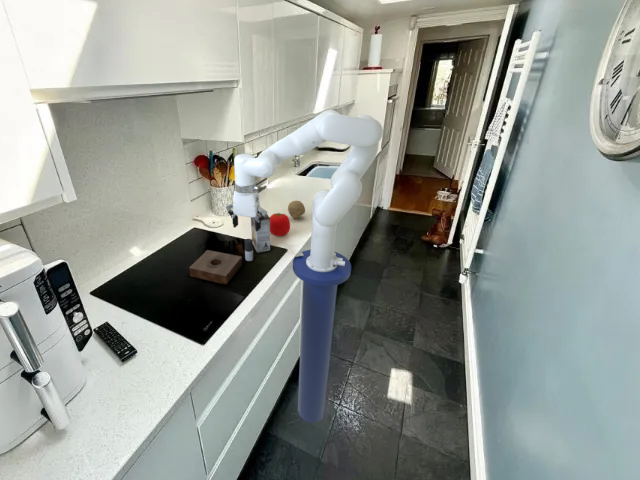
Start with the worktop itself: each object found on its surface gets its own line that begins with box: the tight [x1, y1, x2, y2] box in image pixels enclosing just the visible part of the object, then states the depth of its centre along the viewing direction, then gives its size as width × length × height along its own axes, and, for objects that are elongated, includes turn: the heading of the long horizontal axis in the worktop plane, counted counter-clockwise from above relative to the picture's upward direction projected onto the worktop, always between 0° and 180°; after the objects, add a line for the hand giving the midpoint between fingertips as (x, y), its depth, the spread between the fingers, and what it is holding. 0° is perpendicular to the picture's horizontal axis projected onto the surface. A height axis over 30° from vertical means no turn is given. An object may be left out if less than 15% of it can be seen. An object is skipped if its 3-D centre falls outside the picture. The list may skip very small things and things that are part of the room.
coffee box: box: [250, 212, 271, 254], centre depth 135 cm, size 9×6×16 cm
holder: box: [188, 249, 243, 286], centre depth 122 cm, size 16×14×4 cm
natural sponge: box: [287, 200, 306, 220], centre depth 162 cm, size 9×9×10 cm
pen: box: [244, 238, 254, 262], centre depth 128 cm, size 3×3×9 cm
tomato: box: [269, 212, 291, 237], centre depth 146 cm, size 10×11×11 cm
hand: (246, 228), depth 124 cm, fingers open, 9 cm apart
